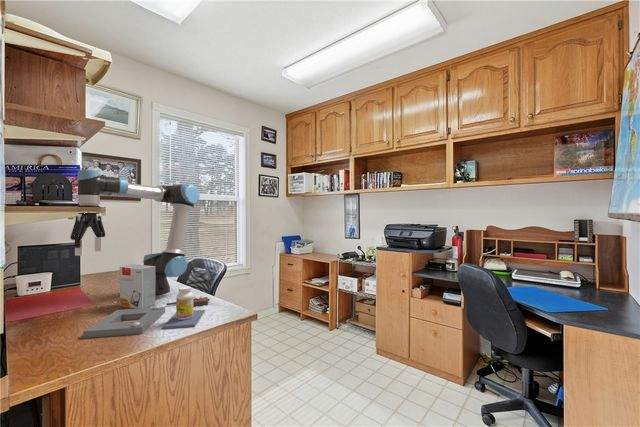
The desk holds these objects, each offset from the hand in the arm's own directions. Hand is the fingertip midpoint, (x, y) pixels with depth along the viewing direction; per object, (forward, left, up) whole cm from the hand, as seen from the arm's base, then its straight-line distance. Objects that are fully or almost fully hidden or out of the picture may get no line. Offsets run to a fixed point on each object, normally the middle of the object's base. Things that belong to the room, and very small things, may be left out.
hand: (89, 253), depth 124 cm
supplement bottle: (+10, +42, -28) cm, 51 cm away
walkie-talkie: (-11, +38, -29) cm, 49 cm away
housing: (+10, +20, -29) cm, 36 cm away
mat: (+10, +42, -29) cm, 52 cm away
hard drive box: (-15, +13, -29) cm, 35 cm away
